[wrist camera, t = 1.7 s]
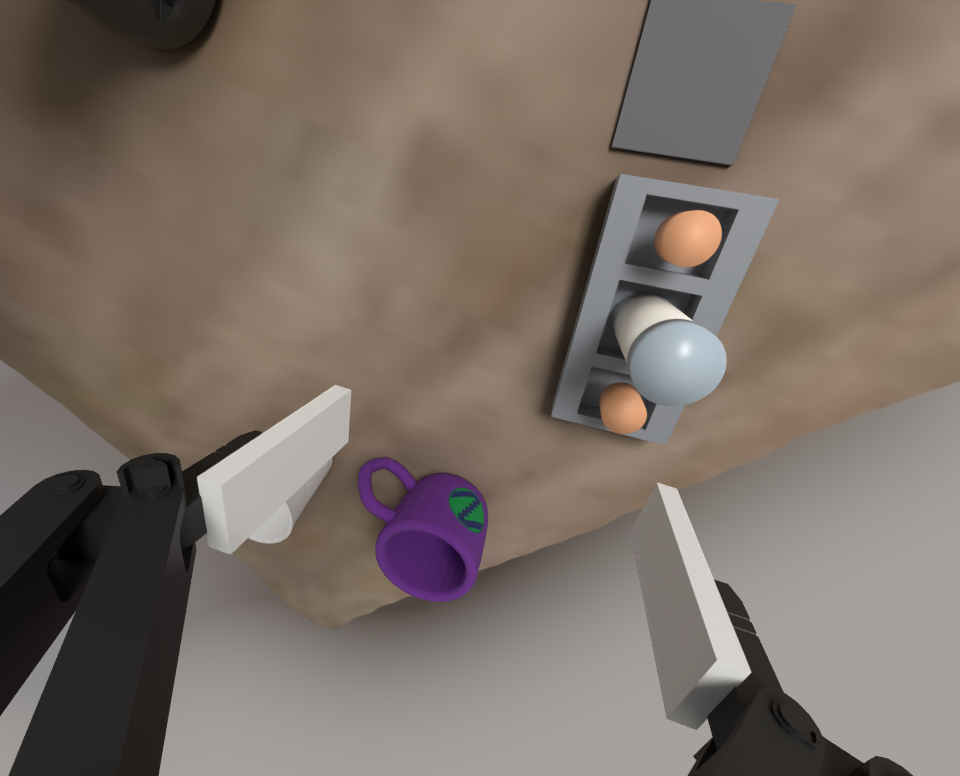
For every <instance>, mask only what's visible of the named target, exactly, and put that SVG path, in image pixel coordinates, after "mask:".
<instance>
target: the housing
mask: <svg viewBox="0 0 960 776" xmlns="http://www.w3.org/2000/svg"><path fill="white" fill-rule="evenodd" d="M779 200H780V199H775V198H768V197H762V196H756V195H750V194H743V193H737V192H731V191H725V190H718V189H712V188H706V187H700V186H693V185H687V184H681V183H675V182H668V181H662V180H656V179H650V178H643V177H637V176H631V175H625V174H620V175H619V176H618V177H617V178H616V180H615V184H614V187H613V191H612V194H611V198H610V201H609V205H608V208H607V212H606V216H605V219H604V223H603V226H602V230H601V233H600V237H599V240H598V244H597V247H596V251H595V254H594V258H593V262H592V265H591V269H590V272H589V276H588V279H587V283H586V286H585V290H584V293H583V297H582V300H581V304H580V308H579V311H578V315H577V318H576V322H575V325H574V329H573V332H572V336H571V339H570V343H569V346H568V350H567V354H566V357H565V361H564V364H563V368H562V371H561V375H560V378H559V382H558V385H557V389H556V393H555V396H554V400H553V403H552V413H551V417H554V418H558V419H562V420H566V421H570V422H574V423H578V424H582V425H586V426H590V427H594V428H598V429H602V430H606V431H610V430H609V429H608V428H607V427H606V426H605V425H604V423H603V421H602V417H601V411H600V405H599V397H600V394H601V392H602V391H603V390H604V389H605V388H606V387H607V386H609V385H611V384H613V383H618V382H624V383H628V384H631V385H632V386H634V384H633V381H632V379H631V376H630V374H629V371H628V366H627V362H626V360H625V358H624V355H623V353H622V350H621V348H620V346H619V343H618V341H617V338H616V336H615V334H614V331H613V328H612V316H613V312H614V310H615V308H616V307H617V305H618V304H619V303H620V302H621V301H622V300H623V299H624V298H625V297H627V296H629V295H631V294H633V293H636V292H642V291H648V292H653V293H656V294H658V295H660V296H662V297H663V298H664V299H665V300H667V301H668V302H669V303H671V304H672V305H673V306H674V307H676V308H677V309H678V310H680V311H681V312H682V313H684V314H685V315H686V316H687V317H689V318H690V319H691V320H693V321H694V322H696V323H698V324H700V325H702V326H703V327H705V328H706V329H707V330H709V331H710V332H711V333H712V334H714V335H715V336H717V334H718V332H719V330H720V327H721V325H722V323H723V321H724V319H725V317H726V314H727V312H728V310H729V308H730V306H731V304H732V301H733V299H734V297H735V295H736V293H737V291H738V288H739V286H740V284H741V282H742V280H743V278H744V275H745V273H746V271H747V269H748V267H749V265H750V262H751V260H752V258H753V256H754V254H755V252H756V249H757V247H758V245H759V243H760V241H761V239H762V236H763V234H764V232H765V230H766V228H767V226H768V223H769V221H770V219H771V217H772V215H773V213H774V210H775V208H776V206H777V204H778V202H779ZM694 210H703V211H707V212H709V213H711V214H713V215H714V216H715V217H716V218H717V219H718V221H719V223H720V225H721V229H722V237H721V241H720V244H719V246H718V248H717V250H716V251H715V253H714V254H713V255H712V256H711V257H710V258H709V259H708V260H706V261H705V262H703V263H701V264H699V265H697V266H693V267H680V266H677V265H674V264H671V263H669V262H666V261H664V260H663V259H661V258H660V257H659V256H658V254H657V253H656V251H655V248H654V237H655V233H656V231H657V229H658V227H659V226H660V224H661V223H662V222H663V221H664V220H665V219H667V218H668V217H669V216H671V215H673V214H675V213H679V212H685V211H694ZM634 387H635V386H634ZM640 396H641V398H642V401H643V403H644V405H645V408H646V411H647V418H646V421H645V423H644V425H643V426H642V427H641V428H640V429H638V430H637V431H635V432H633V433H629V434H622V435H626V436H630V437H634V438H638V439H642V440H646V441H650V442H654V443H658V444H662V445H666V444H667V442H668V440H669V438H670V436H671V433H672V431H673V429H674V427H675V425H676V423H677V420H678V418H679V416H680V414H681V412H682V410H683V407H684V405H682V406H664V405H659V404H656V403H653V402H651V401H649V400H648V399H646V398H645V397H643V396H642V395H641V394H640ZM610 432H612V431H610Z"/></svg>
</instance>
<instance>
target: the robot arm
mask: <svg viewBox="0 0 960 776" xmlns="http://www.w3.org/2000/svg"><path fill="white" fill-rule="evenodd" d="M69 1H70V2H72V3H73V4H74V5H75V6H77V7H78V8H79V9H81V10H82V11H83V12H85V13H86V14H87V15H88V16H90V17H91V18H92V19H94V20H95V21H96V22H98V23H99V24H100V25H102V26H103V27H105V28H107V29H108V30H110V31H112V32H113V33H115V34H117V35H119V36H122V37H124V38H126V39H129V40H131V41H133V42H136V43H138V44H140V45H143V46H145V47H148V48H151V49H156V50H173V49H177V48H180V47H182V46H184V45H186V44H188V43H189V42H190V41H192V40H193V39H194V38H195V37H196V36H197V35H198V34H199V33H200V32H201V30H202V29H203V28H204V26H205V24H206V23H207V21H208V19H209V17H210V15H211V12H212V10H213V7H214V4H215V1H216V0H69ZM350 403H351V390H350V389H347V388H344V387H340V386H337V385H334V386H333V387H331V388H330V389H328V390H327V391H325V392H324V393H322V394H321V395H319V396H318V397H316V398H315V399H313V400H312V401H310V402H309V403H307V404H306V405H304V406H303V407H301V408H300V409H298V410H297V411H295V412H294V413H292V414H291V415H289V416H288V417H286V418H285V419H283V420H282V421H280V422H279V423H277V424H276V425H274V426H273V427H271V428H270V429H268V430H267V431H265V432H264V433H263V432H260V431H257V430H255V431H252V432H249V433H246V434H243V435H240V436H238V437H237V438H235V439H234V440H232V441H230V442H229V443H227V445H226V446H222V447H221V448H219V449H218V450H216V452H215V453H214V452H213V453H211V454H210V455H208V456H206V457H205V458H203V459H202V460H200V461H198V462H197V463H195V464H194V465H192V466H190V467H189V468H187V469H186V470H184V471H183V472H182V470H181V464H180V459H179V458H177V457H176V456H175V455H171V454H167V453H153V454H148V455H143V456H140V457H137V458H134V459H132V460H130V461H128V462H127V463H125V464H123V465H122V466H121V467H120V468H119V469H118V471H117V474H118V478H119V482H120V485H121V486H105V485H102V482H101V479H100V476H99V474H98V473H96V472H94V471H88V470H75V471H68V472H64V473H60V474H56V475H54V476H52V477H49V478H47V479H44V480H43V481H41V482H40V483H38V484H36V485H35V486H34V487H33V488H31V489H30V490H29V491H28V492H27V493H26V494H24V495H23V496H22V497H21V498H20V499H19V500H18V501H16V502H15V503H14V504H13V505H12V506H11V507H10V508H8V509H7V510H6V511H5V512H4V513H3V514H1V515H0V716H1V714H2V713H3V711H4V710H5V709H6V707H7V706H8V704H9V703H10V702H11V700H12V699H13V698H14V696H15V695H16V693H17V692H18V690H19V689H20V688H21V686H22V685H23V684H24V682H25V681H26V679H27V678H28V677H29V675H30V674H31V672H32V671H33V670H34V668H35V667H36V665H37V664H38V663H39V661H40V660H41V658H42V657H43V655H44V654H45V652H46V651H47V650H48V649H49V647H50V646H51V644H52V643H53V642H54V640H55V639H56V637H57V636H58V635H59V633H60V632H61V631H62V629H63V628H64V626H65V625H66V624H67V622H68V621H69V619H70V618H71V617H72V615H73V614H74V612H75V611H76V612H75V615H74V617H73V619H72V622H71V624H70V627H69V629H68V632H67V634H66V637H65V639H64V642H63V644H62V646H61V649H60V651H59V654H58V657H57V658H56V661H55V664H54V666H53V669H52V671H51V673H50V676H49V678H48V681H47V683H46V685H45V688H44V690H43V693H42V695H41V698H40V700H39V702H38V705H37V707H36V710H35V712H34V715H33V717H32V720H31V722H30V724H29V727H28V729H27V732H26V734H25V737H24V739H23V741H22V744H21V746H20V749H19V751H18V754H17V756H16V759H15V761H14V764H13V766H12V769H11V771H10V773H9V776H158V775H159V770H160V763H161V757H162V751H163V745H164V739H165V734H166V728H167V722H168V716H169V710H170V703H171V698H172V691H173V686H174V680H175V674H176V668H177V662H178V656H179V650H180V644H181V638H182V632H183V626H184V620H185V614H186V608H187V602H188V596H189V590H190V584H191V578H192V572H193V566H194V560H195V554H196V544H195V542H196V541H197V540H199V539H200V538H201V537H202V536H203V535H204V534H206V535H207V541H208V546H209V547H211V548H214V549H216V550H219V551H221V552H224V553H227V554H229V555H231V554H232V553H233V552H234V551H235V550H236V549H237V548H238V547H239V546H240V545H241V544H242V543H243V542H244V541H245V540H246V539H247V538H248V537H249V536H250V535H252V534H253V533H254V532H255V531H256V530H257V529H258V528H259V527H260V526H261V525H262V524H263V523H264V522H265V521H266V520H267V519H268V518H269V517H270V516H271V515H272V514H273V513H274V512H275V511H277V510H278V509H279V508H280V507H281V506H282V505H283V504H284V503H285V502H286V501H287V500H288V499H289V498H290V497H291V496H292V495H293V494H294V493H295V492H296V491H297V490H298V489H299V488H300V487H302V486H303V485H304V484H305V483H306V482H307V481H308V480H309V479H310V478H311V477H312V476H313V475H314V474H315V473H316V472H317V471H318V470H319V469H320V468H321V467H322V466H323V465H324V464H326V463H327V462H328V461H329V460H330V459H331V458H332V457H333V456H334V455H335V454H336V453H337V452H338V451H339V450H340V449H341V448H342V447H343V446H344V445H345V444H346V443H347V442H348V437H349V420H350ZM630 533H631V539H632V543H633V548H634V554H635V559H636V564H637V569H638V574H639V579H640V584H641V589H642V595H643V600H644V605H645V610H646V615H647V620H648V625H649V631H650V636H651V641H652V646H653V651H654V656H655V661H656V666H657V672H658V677H659V682H660V687H661V692H662V697H663V702H664V707H665V712H666V718H667V719H669V720H671V721H674V722H677V723H680V724H682V725H685V726H687V727H690V728H693V729H696V730H697V729H698V728H699V727H700V726H701V725H702V724H703V722H704V721H705V720H706V719H707V718H708V722H709V725H710V729H711V732H712V736H713V737H712V738H711V739H710V740H709V741H708V742H707V743H706V744H705V745H704V746H703V747H702V748H701V749H700V750H699V751H698V752H697V753H696V754H695V755H694V756H693V757H694V758H695V759H696V760H697V761H696V762H695V764H694V766H693V767H692V769H691V771H690V773H689V774H688V776H913V775H912V774H910V773H909V772H908V771H907V770H906V769H904V768H903V767H902V766H900V765H898V764H896V763H895V762H893V761H891V760H889V759H887V758H883V757H879V756H875V757H873V758H872V759H870V760H868V761H867V762H865V763H862V762H861V761H859V760H858V759H856V758H855V757H853V756H851V755H850V754H849V753H847V752H846V751H844V750H842V749H841V748H839V747H838V746H836V745H835V744H833V743H832V742H830V741H829V740H827V739H826V738H824V737H823V736H822V735H821V733H820V730H819V728H818V727H817V725H816V724H815V722H814V721H813V720H812V718H811V717H810V715H809V714H808V713H807V712H806V711H805V710H804V709H803V708H802V707H801V706H800V705H799V704H798V703H797V702H796V701H795V700H793V699H792V698H791V697H789V696H788V695H787V694H785V693H784V692H783V690H782V688H781V686H780V683H779V681H778V679H777V677H776V675H775V672H774V670H773V668H772V666H771V664H770V662H769V659H768V657H767V655H766V653H765V651H764V648H763V646H762V644H761V642H760V640H759V638H758V637H757V636H756V631H755V629H754V627H753V625H752V623H751V622H750V621H749V619H750V618H749V616H748V614H747V611H746V609H745V607H744V605H743V603H742V601H741V600H740V598H739V597H738V596H737V595H736V593H735V592H734V591H733V590H732V588H731V587H730V586H729V585H728V584H726V583H723V582H720V581H717V580H714V579H713V576H712V574H711V572H710V569H709V567H708V564H707V562H706V559H705V557H704V554H703V552H702V550H701V547H700V545H699V542H698V540H697V537H696V535H695V532H694V530H693V527H692V525H691V522H690V520H689V518H688V515H687V513H686V510H685V508H684V505H683V503H682V501H681V498H680V496H679V493H678V490H677V489H676V488H673V487H670V486H666V485H663V484H660V483H656V485H655V487H654V489H653V491H652V493H651V495H650V496H649V498H648V500H647V502H646V504H645V506H644V508H643V510H642V511H641V513H640V515H639V517H638V519H637V521H636V523H635V525H634V527H633V528H632V530H631V532H630Z"/></svg>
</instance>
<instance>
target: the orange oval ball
mask: <svg viewBox="0 0 960 776" xmlns="http://www.w3.org/2000/svg"><path fill="white" fill-rule="evenodd" d="M721 237H722V229H721V225H720V223H719V221H718V219H717V218H716V217H715V216H714V215H713V214H711V213H709V212H707V211H703V210H694V211H685V212H679V213H675V214H673V215H671V216H669V217H668V218H667V219H665V220H664V221H663V222H662V223H661V224H660V226H659V227H658V229H657V231H656V233H655V237H654V248H655V251H656V253H657V254H658V256H659V257H660V258H661V259H663V260H664V261H666V262H669V263H671V264H674V265H677V266H680V267H693V266H697V265H699V264H701V263H703V262H705V261H706V260H708V259H709V258H710V257H711V256H712V255H713V254H714V253H715V251H716V250H717V248H718V246H719V244H720V241H721Z"/></svg>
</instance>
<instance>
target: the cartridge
mask: <svg viewBox="0 0 960 776" xmlns="http://www.w3.org/2000/svg"><path fill="white" fill-rule="evenodd" d="M612 328H613V331H614V334H615V336H616V338H617V341H618V343H619V346H620V348H621V350H622V353H623V355H624V358H625V360H626V362H627V366H628V371H629V374H630V376H631V379H632V381H633V384H634V386H635V388H636V389H637V390H638V392H639V393H640V394H641V395H642V396H643V397H645V398H646V399H648V400H649V401H651V402H653V403H656V404H659V405H664V406H682V405H687V404H691V403H693V402H696V401H698V400H700V399H702V398H704V397H705V396H707V395H708V394H709V393H711V392H712V391H713V390H714V389H715V388H716V386H717V385H718V384H719V383H720V381H721V379H722V377H723V375H724V373H725V369H726V353H725V350H724V347H723V345H722V343H721V342H720V340H719V339H718V338H717V337H716V336H715V335H714V334H712V333H711V332H710V331H709V330H707V329H706V328H705V327H703V326H702V325H700V324H698V323H696V322H694V321H693V320H691V319H690V318H689V317H687V316H686V315H685V314H684V313H682V312H681V311H680V310H678V309H677V308H676V307H674V306H673V305H672V304H671V303H669V302H668V301H667V300H665V299H664V298H663V297H662V296H660V295H658V294H656V293H653V292H648V291H642V292H636V293H633V294H631V295H629V296H627V297H625V298H624V299H623V300H622V301H621V302H620V303H619V304H618V305H617V307H616V308H615V310H614V312H613V316H612Z"/></svg>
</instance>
